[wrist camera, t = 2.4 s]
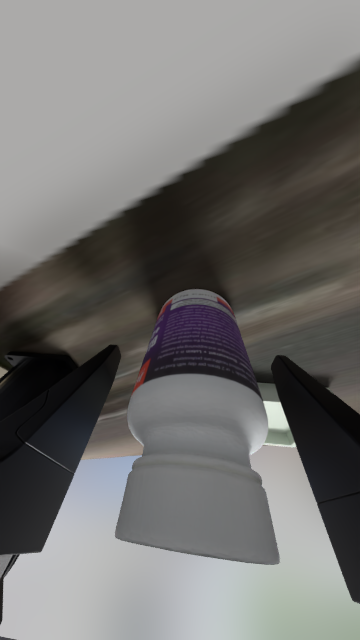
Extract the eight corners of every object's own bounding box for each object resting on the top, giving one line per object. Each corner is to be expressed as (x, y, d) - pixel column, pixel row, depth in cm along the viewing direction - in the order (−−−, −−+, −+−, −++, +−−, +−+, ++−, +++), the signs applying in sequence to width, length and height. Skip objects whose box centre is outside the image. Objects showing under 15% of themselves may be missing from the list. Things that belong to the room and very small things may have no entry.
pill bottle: (151, 290, 11) (25, 531, 3) (235, 282, 10) (389, 588, 2) (167, 348, 14) (128, 539, 6) (231, 345, 13) (286, 563, 5)
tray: (210, 423, 21) (211, 439, 20) (221, 379, 16) (224, 397, 14) (287, 430, 21) (294, 447, 19) (329, 387, 15) (343, 407, 14)
